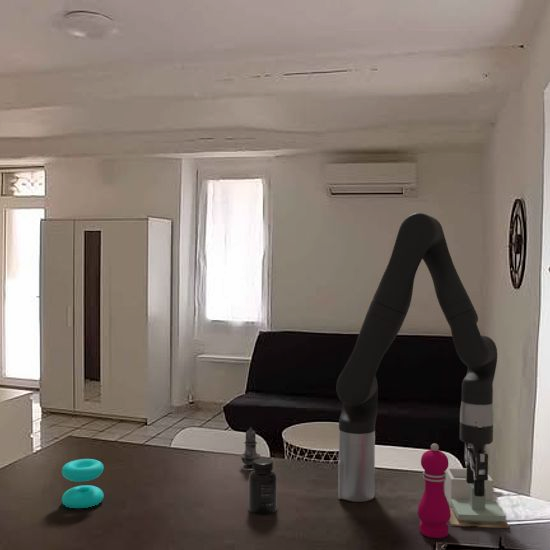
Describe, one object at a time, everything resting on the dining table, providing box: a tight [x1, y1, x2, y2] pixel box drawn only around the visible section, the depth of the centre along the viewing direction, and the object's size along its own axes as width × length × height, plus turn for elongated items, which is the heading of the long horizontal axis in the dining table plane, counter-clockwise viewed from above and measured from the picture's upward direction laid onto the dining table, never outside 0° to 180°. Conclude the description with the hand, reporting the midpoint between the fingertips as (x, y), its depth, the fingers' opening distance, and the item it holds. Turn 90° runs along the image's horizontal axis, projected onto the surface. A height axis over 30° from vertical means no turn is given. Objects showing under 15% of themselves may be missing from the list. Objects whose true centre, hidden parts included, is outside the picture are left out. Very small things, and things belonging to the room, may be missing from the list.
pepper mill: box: [417, 443, 451, 539], centre depth 146 cm, size 7×7×20 cm
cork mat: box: [448, 507, 511, 529], centre depth 154 cm, size 13×10×1 cm
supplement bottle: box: [248, 457, 278, 516], centre depth 158 cm, size 7×7×12 cm
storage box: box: [444, 467, 494, 508], centre depth 165 cm, size 10×9×7 cm
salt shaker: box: [240, 426, 261, 469], centre depth 191 cm, size 6×6×12 cm
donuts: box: [61, 458, 105, 509], centre depth 162 cm, size 10×10×10 cm
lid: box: [450, 484, 507, 523], centre depth 154 cm, size 11×10×7 cm
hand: (475, 489), depth 154 cm, fingers open, 8 cm apart
